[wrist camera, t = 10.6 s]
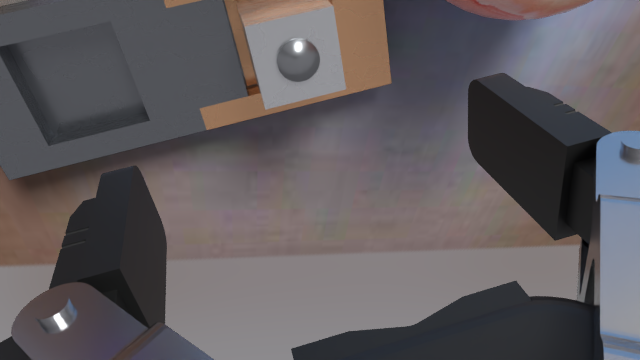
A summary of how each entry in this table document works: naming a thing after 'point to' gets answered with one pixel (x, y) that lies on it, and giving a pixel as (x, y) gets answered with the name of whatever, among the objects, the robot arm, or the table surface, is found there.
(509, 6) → the vase
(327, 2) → the silver block
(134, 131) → the tray
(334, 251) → the table surface
